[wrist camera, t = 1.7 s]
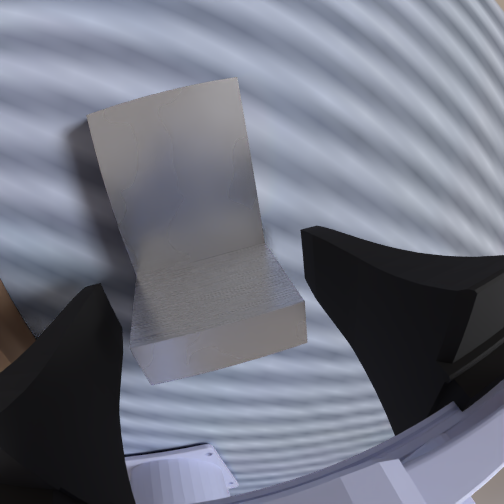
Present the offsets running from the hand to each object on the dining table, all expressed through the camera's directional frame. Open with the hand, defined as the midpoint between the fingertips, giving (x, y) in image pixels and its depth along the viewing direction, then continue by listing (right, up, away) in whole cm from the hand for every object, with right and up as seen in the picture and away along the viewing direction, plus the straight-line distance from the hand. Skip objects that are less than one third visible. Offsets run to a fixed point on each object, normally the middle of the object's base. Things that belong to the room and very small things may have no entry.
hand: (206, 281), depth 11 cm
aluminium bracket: (-1, +3, 0) cm, 3 cm away
